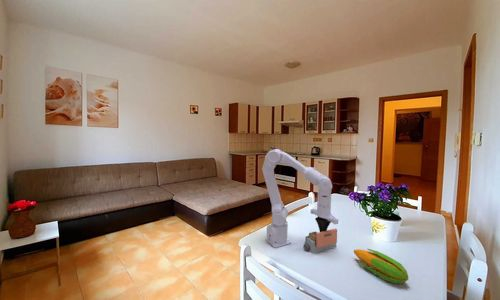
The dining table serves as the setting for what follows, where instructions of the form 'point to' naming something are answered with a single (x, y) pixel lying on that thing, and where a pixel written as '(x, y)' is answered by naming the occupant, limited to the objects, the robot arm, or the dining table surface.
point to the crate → (313, 236)
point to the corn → (382, 266)
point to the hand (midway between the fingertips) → (322, 234)
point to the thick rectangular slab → (326, 238)
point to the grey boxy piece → (312, 248)
